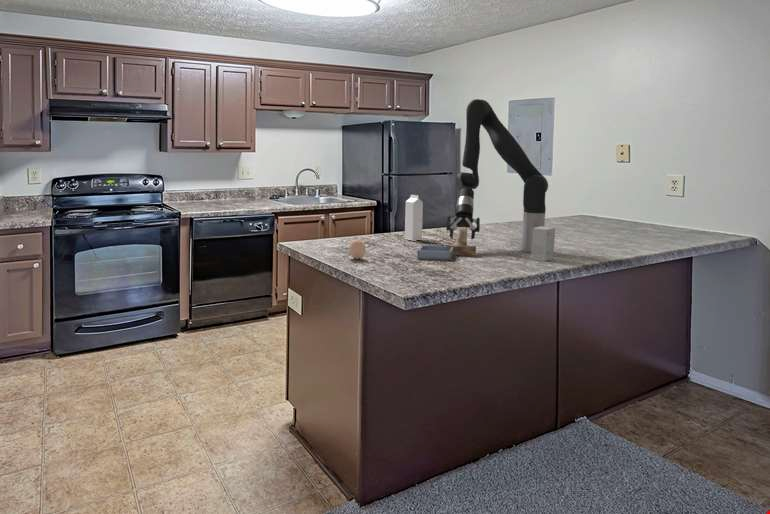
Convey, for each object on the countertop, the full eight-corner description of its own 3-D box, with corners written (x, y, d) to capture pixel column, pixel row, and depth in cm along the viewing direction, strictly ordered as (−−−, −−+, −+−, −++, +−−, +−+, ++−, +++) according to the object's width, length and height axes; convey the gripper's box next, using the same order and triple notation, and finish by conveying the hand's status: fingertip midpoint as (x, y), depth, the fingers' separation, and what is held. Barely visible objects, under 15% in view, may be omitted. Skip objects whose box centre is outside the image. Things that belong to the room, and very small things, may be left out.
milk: (412, 241, 271) (413, 195, 267) (404, 240, 276) (405, 194, 271) (422, 240, 275) (423, 195, 270) (414, 239, 279) (415, 194, 275)
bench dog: (475, 255, 238) (476, 245, 238) (475, 256, 236) (475, 247, 235) (447, 253, 241) (447, 244, 240) (446, 255, 238) (446, 245, 237)
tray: (453, 254, 239) (453, 246, 238) (450, 260, 226) (451, 252, 225) (421, 253, 241) (421, 245, 241) (417, 258, 228) (417, 250, 228)
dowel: (466, 252, 244) (467, 227, 242) (466, 254, 240) (467, 228, 238) (457, 252, 245) (458, 227, 243) (456, 253, 241) (457, 228, 239)
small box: (539, 256, 238) (541, 225, 235) (553, 258, 234) (555, 227, 231) (530, 259, 232) (532, 227, 229) (545, 261, 228) (547, 229, 225)
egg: (367, 260, 224) (367, 240, 222) (351, 261, 222) (351, 241, 221) (363, 257, 230) (363, 238, 229) (347, 257, 228) (347, 238, 227)
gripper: (448, 202, 249) (444, 231, 240) (481, 203, 246) (479, 233, 237) (448, 213, 255) (445, 242, 246) (480, 214, 252) (478, 244, 243)
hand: (461, 237), depth 242 cm, fingers open, 8 cm apart
